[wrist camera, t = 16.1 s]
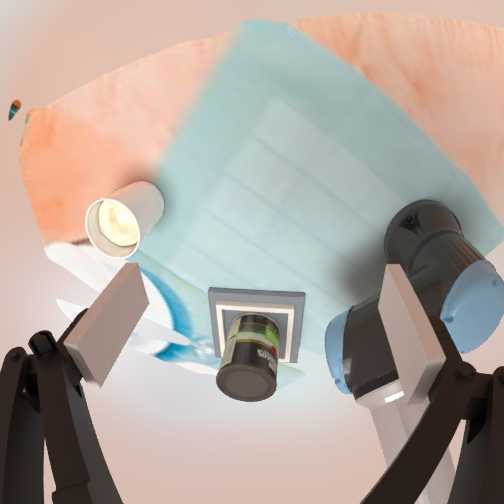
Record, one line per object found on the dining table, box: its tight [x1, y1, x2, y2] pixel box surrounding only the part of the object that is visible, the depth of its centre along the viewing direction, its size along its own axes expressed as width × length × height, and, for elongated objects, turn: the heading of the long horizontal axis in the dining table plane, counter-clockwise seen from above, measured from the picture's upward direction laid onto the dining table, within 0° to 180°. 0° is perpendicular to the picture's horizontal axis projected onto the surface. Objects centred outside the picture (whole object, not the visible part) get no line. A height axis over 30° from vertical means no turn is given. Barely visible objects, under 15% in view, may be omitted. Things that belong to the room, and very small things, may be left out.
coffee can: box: [216, 312, 280, 402], centre depth 55 cm, size 10×10×14 cm
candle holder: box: [85, 181, 164, 259], centre depth 47 cm, size 10×10×12 cm
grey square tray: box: [208, 287, 304, 363], centre depth 61 cm, size 18×18×3 cm
